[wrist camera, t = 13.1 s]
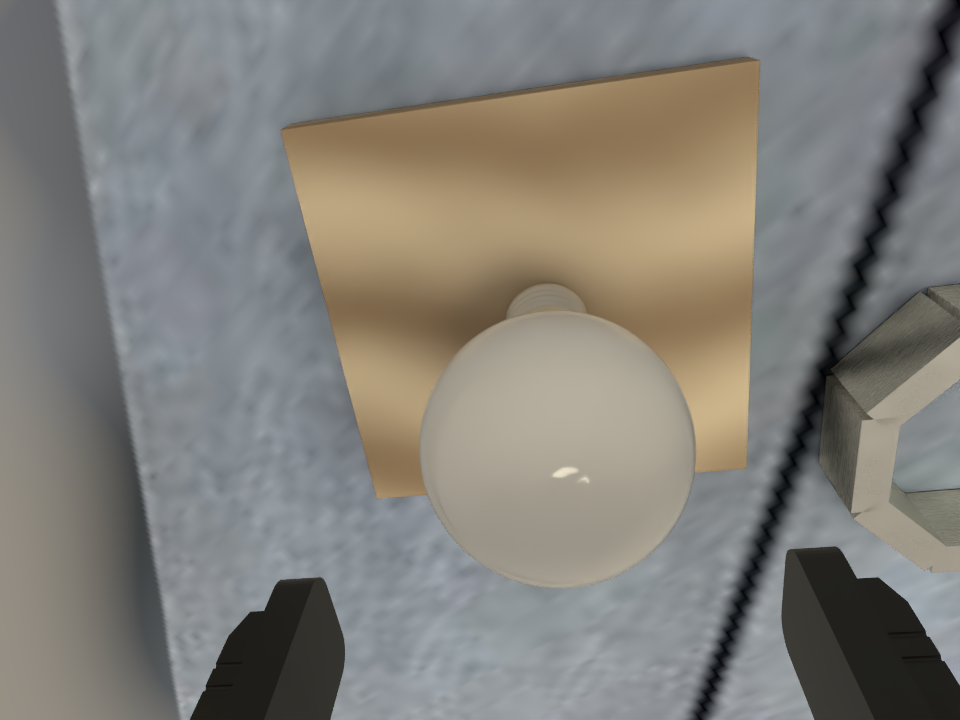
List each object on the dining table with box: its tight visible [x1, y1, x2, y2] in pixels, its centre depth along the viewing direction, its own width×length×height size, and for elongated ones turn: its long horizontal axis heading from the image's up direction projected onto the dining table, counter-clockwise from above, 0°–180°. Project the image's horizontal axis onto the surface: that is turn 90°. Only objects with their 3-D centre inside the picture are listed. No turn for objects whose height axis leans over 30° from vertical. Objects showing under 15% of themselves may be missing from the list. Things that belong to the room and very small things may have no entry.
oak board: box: [280, 57, 760, 499], centre depth 24 cm, size 14×14×1 cm
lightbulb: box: [419, 283, 696, 588], centre depth 18 cm, size 6×6×11 cm
